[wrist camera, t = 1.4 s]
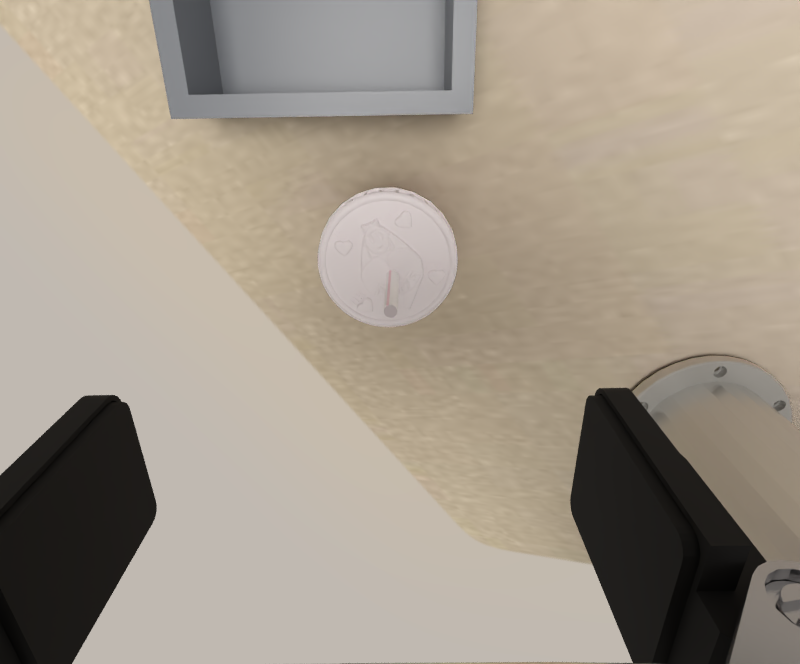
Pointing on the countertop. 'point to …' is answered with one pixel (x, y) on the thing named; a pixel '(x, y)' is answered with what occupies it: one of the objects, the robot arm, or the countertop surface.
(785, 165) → the countertop surface
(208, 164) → the countertop surface
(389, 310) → the smoothie
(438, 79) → the box
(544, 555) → the countertop surface
